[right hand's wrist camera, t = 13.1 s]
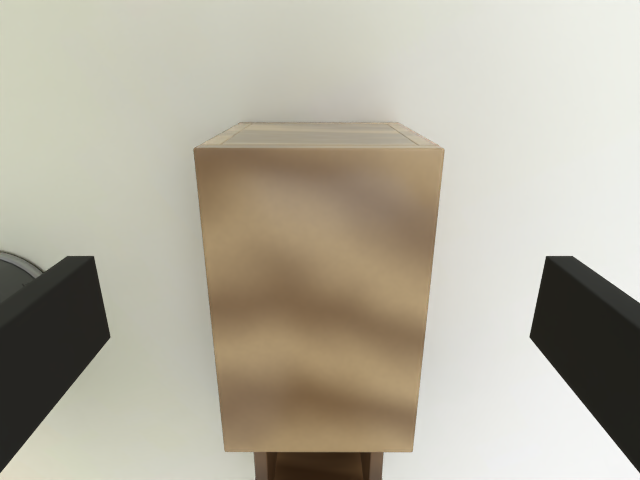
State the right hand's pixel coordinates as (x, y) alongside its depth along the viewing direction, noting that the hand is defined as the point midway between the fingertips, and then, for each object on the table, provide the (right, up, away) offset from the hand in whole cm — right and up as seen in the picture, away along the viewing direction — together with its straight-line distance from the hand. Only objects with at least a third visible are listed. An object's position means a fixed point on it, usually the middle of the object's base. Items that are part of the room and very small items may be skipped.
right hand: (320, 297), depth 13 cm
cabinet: (0, +2, +19) cm, 19 cm away
